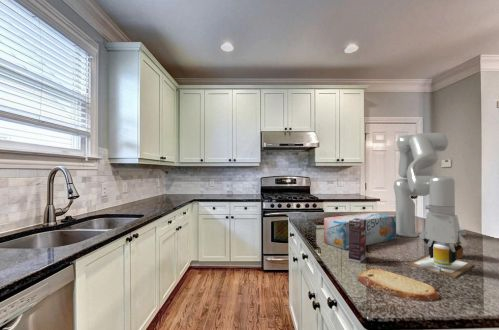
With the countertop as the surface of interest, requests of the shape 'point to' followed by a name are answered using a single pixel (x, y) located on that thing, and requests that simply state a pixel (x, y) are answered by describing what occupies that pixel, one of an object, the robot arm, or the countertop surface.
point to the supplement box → (357, 240)
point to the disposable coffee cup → (460, 251)
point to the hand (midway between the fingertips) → (442, 259)
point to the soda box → (376, 229)
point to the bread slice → (397, 285)
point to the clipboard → (429, 265)
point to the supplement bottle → (441, 254)
